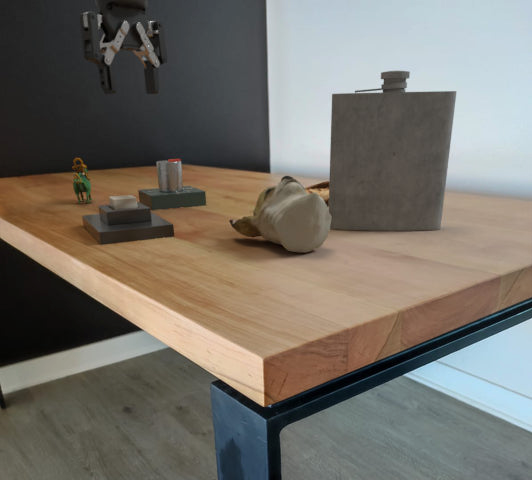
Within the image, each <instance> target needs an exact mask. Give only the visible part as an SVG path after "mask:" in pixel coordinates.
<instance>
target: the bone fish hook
mask: <svg viewBox="0 0 532 480" xmlns="http://www.w3.org/2000/svg"><path fill="white" fill-rule="evenodd" d="M304 188H305V191H306V193H307V194H308V195H309V194H311V193H314V192H316V193H317V194H318V195H319V196H320V197H321V198H322V199H323V200H324V202H325V203H326V205H327V206H329V180H327V181H326V180H325V181H322V182H319V183H316V184H313V185H309V186H307V187H304Z"/></svg>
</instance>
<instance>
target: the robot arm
mask: <svg viewBox="0 0 532 480" xmlns="http://www.w3.org/2000/svg"><path fill="white" fill-rule="evenodd" d="M94 2H95V5H96V7H97V8H98V14H97V12H95V11H93V10H92V11H85V12H82V13H80V14H79V21H80V32H81V42H82V43H81V44H82V55H83V58H84V60H85V61H87V62H88V61H90V62H92V63H94V64H95V65H96V67H97V71H98V78H99V86H100V89H101V90H102V91H103V94H104V95H115V94H116V93H117V88H116V79H115V71H114V66H113V65H111V64H112V63H113V60H114V58H115V55H116V54H117V53H118V52H119V51H120V50H124V51H127V52H129V51H130V52H133V53H134V55H135V56H137V58H139V60H140V61H141V63H142V65H143V67H144V68H143V74H144V85H145V92H146V95H157V94H158V93H159V90H160V87H161V86H160V76H159V68H160V66H161V65H164V64H167V63H168V52H167V45H166V37H165V27H164V23H163V21H162V20H161V19H158V20H150V21H149V20H148V18H147V16H146V9H147V7H148V0H94ZM100 30H101V31H102V33H103V34H102V37H101V39H100Z"/></svg>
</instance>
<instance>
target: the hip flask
mask: <svg viewBox="0 0 532 480" xmlns="http://www.w3.org/2000/svg"><path fill="white" fill-rule="evenodd" d="M410 74H411V72H410V71H407V70H388V71H382V72H381V73H380V80H383V84H381V86H380V87H381V88H371V89H359V90H354V92H348V93H346V92H345V93H343V92H341V93H332V94H331V116H330V118H331V119H330V147H329V148H330V149H329V150H330V151H329V153H330V154H329V180H328V181H329V205H328V210H329V214H330V215H331V225H330V230H331V229H332V230H341V231H343V230H344V231H373V232H374V231H375V232H376V231H377V232H381V231H383V232H384V231H385V232H405V231H406V232H407V231H408V232H409V231H410V232H412V231H413V232H415V231H416V232H417V231H437V230H440V229H442V221H443V220H442V219H443V210H444V202H445V194H446V186H447V177H448V169H449V160H450V151H451V142H452V134H453V124H454V116H455V107H456V99H457V91H456V90H452V91H451V90H445V91H444V90H443V91H442V90H441V91H438V90H437V91H435V90H434V91H406V89H407V88H408V82H407V79H410ZM376 91H382V92H376Z"/></svg>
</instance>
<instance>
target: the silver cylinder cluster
mask: <svg viewBox="0 0 532 480" xmlns="http://www.w3.org/2000/svg"><path fill="white" fill-rule="evenodd" d="M155 164H156V175H157V176H156V177H157V184H158V188H159V191H161V192H176V191H182V190H183V186H184V183H183V169H182V161H181V158H171V159H170V158H169V159H168V160H167V159H165V160H157V161H156V162H155Z"/></svg>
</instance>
